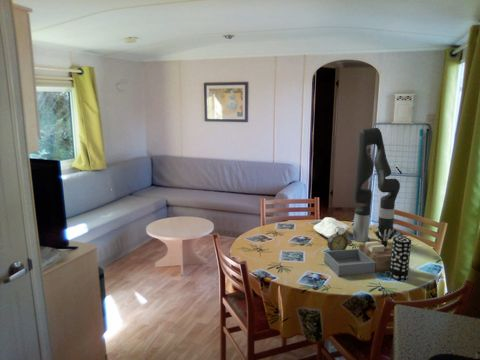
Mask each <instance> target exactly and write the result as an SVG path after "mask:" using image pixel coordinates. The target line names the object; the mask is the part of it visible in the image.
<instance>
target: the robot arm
mask: <svg viewBox="0 0 480 360" xmlns="http://www.w3.org/2000/svg"><path fill="white" fill-rule="evenodd" d="M373 145H376V154H375V156H374V159H372V157H371V156H370V155H369V152H368V150H367V147H368V146H373ZM385 149H386V147H385V145H384V138H383V136H382V132H381V130H380V128H378V127H372V128H371V127H370V128H363V129H361V130H360V131H359V136H358V159H357V163H356V176H355V185H354V190H353V196H352V197H353V199H352V200H353V202H354V203H355V204H364V205H362V206H357V207H356V208H355V209H354V221H353V227H352V230H353V231H352V239H353V240H354V241H356V242H361V243H366V242H369V233H370V221H371V220H370V218H371V208H372V207H371V205H372V200H373V199H372V198H373V192H372V189H370V188H362V187H363V185H364V184H365V183H366V182H367V181H368V180H369V179H370V178H371V177H372V175H373V173H374V169H375V172H376V175H377V188H378V190H379V191H380V192H381V193H382V194H383V193H387V194H386V195H383V196H381V198H380V200H379V201H380V203H379V204H380V205H379V212H378V226H377V229H376V230H373V233H374V235H375V236H376V237H377V239H378V240H380V242H381V244H382V245H384V246H385V247H386V246H387V245H388V241H390V240H393V238H394V237H395V235H396V234H397V232H398V230H396V229H395V228H394V224H395V206H396V205H395V204H396V200H397V197H398V194H399V191H400V188H401V184H400V181H399V180H398V179H397V178H387V177H389V176H391V175H392V169H391V166H390V164H389V161H388V158H387V155H386V150H385Z"/></svg>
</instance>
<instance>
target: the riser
mask: <svg viewBox="0 0 480 360" xmlns="http://www.w3.org/2000/svg"><path fill="white" fill-rule="evenodd" d="M378 242H379V243H381V241H378ZM365 244H366V242H361V243H359V246H358V249H359V250H360V251H362V252H363V253H364V254H366V255H367V256H368V257H369V258H371V259H372V260H373V261H375V262H376V264H375V273H374V274H378V273H379V274H380V273H382V274H383V273H390V266H391V255H392V247H391V246H390V245H388V244H387V246H386V247H385V248H384V252H371V251H369V250H368V249H367V248H366V247H365Z"/></svg>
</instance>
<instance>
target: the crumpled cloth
mask: <svg viewBox="0 0 480 360" xmlns="http://www.w3.org/2000/svg"><path fill="white" fill-rule="evenodd" d="M337 227H339V228H340V229H339V228H337ZM335 229H336V230H335ZM350 229H351V227H350V226H349V225H348V224H346V223H345V222H342V221H339V220H337V219H336V218H334V217H328V216H326V217H324V218H323V219H322V220H321V221H319V222H318V223H316V224H314V225H313V230H314V231H315V232H317V233H318V234H320V235H323V236H324V237H326V238H327V239H329V237H330V236H331V235H333V234H336V233H337V232H338V234H341V235H344V234H345V232H347V231H349V230H350ZM339 230H340V231H339ZM335 231H336V232H335Z"/></svg>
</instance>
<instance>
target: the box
mask: <svg viewBox="0 0 480 360" xmlns="http://www.w3.org/2000/svg"><path fill="white" fill-rule="evenodd" d="M323 253H324V254H323V257H324V258H323V262H324V263H325V264H326V265H327V266H328V267H329V268H330V270H332V271H333V273H334V274H335V275H336V276H337V277H338V278H339V277H347V276H348V277H349V276H358V275H359V276H360V275H370V274H376V273H375V264H376V262H375V261H373V260H372V259H371V258H369V257H368V256H367V255H366V254H364V253H363V252H362V251H360V250H359V248H353V249H352V248H351V249H350V248H349V249H345V250H336V251H331V250H326V251H324V252H323Z"/></svg>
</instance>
